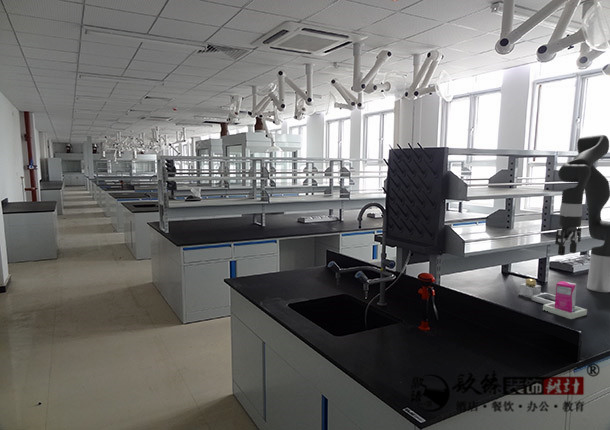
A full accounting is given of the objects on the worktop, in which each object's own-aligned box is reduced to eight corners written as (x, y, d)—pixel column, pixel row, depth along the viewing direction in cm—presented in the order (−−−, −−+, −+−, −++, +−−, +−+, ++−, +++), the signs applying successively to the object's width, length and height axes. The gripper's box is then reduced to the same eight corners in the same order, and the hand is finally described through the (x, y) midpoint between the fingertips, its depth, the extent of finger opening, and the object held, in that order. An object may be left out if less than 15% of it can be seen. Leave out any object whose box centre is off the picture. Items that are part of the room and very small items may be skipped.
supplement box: (558, 307, 166) (561, 280, 164) (574, 311, 161) (577, 283, 160) (553, 310, 162) (556, 282, 160) (570, 314, 158) (573, 286, 156)
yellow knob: (528, 292, 184) (529, 278, 183) (536, 294, 181) (538, 280, 180) (522, 293, 182) (524, 279, 182) (531, 295, 179) (532, 281, 178)
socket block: (529, 292, 187) (530, 281, 186) (568, 303, 172) (569, 292, 171) (516, 295, 182) (517, 284, 181) (554, 307, 167) (555, 295, 167)
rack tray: (558, 305, 169) (558, 301, 169) (586, 314, 160) (587, 309, 159) (542, 309, 164) (543, 304, 164) (571, 319, 154) (571, 314, 154)
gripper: (570, 212, 168) (566, 250, 170) (551, 214, 161) (547, 253, 163) (590, 214, 162) (586, 253, 164) (570, 216, 155) (567, 257, 157)
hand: (566, 253), depth 164 cm, fingers open, 8 cm apart
